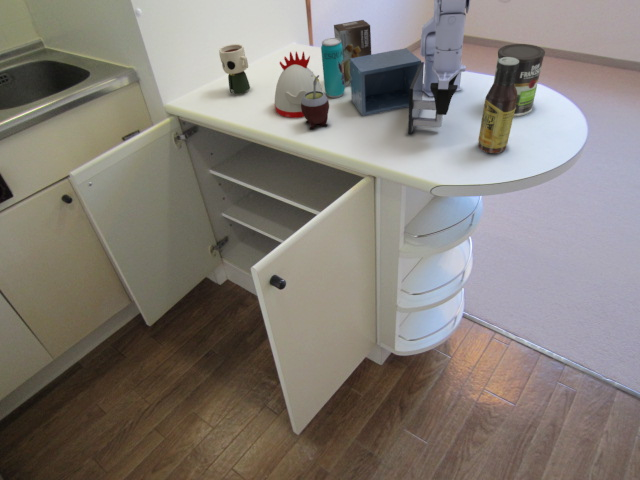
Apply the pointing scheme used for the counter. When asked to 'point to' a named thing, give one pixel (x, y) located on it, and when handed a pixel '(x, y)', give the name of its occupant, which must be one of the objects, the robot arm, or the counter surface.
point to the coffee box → (353, 43)
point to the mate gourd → (315, 107)
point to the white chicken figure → (294, 86)
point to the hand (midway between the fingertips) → (443, 106)
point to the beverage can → (333, 67)
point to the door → (420, 104)
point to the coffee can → (524, 73)
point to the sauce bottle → (499, 108)
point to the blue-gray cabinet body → (382, 80)
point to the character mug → (235, 67)
